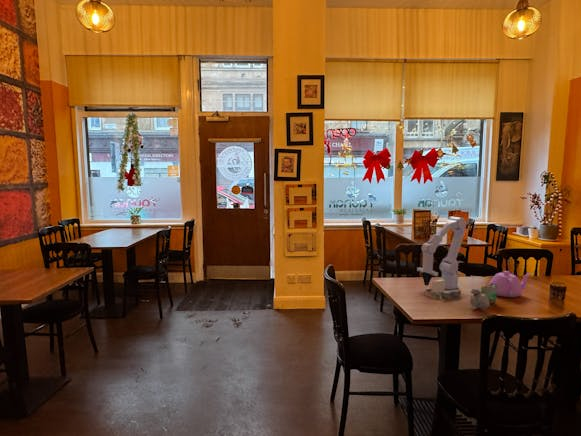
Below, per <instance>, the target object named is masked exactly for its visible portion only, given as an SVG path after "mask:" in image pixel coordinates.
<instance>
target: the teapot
mask: <svg viewBox="0 0 581 436" xmlns="http://www.w3.org/2000/svg"><path fill="white" fill-rule="evenodd" d="M531 275H532V273H526V274H524V275H523V278H522V281H521V282H520V280H519V278H518V276H516V275H515V274H512V273H511V272H510V271H508V270H503V272H502V271H501V272H498V273H495V275H494V276H493V277H492V278H491V280H490V281H489V284H488V285H491V283H493V284H496V285H498V288H499V291H497V296H499V297H503V298H504V297H505V298H516V297H519V296H520V295H521V294H522V293H523V290H525V288H526V287H527V284H528V278H529V276H531Z"/></svg>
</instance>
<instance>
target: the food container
mask: <svg viewBox="0 0 581 436" xmlns="http://www.w3.org/2000/svg"><path fill="white" fill-rule="evenodd" d="M480 291H481V292H482V294H485V295H486V296H487V297H488V299H489V304H490V306H494V305H495V306H496V302H497V296H498V295H497V291H499V288H498V285H496V284H493V283H491V285H489V284H488V285H485V286H481V288H480Z"/></svg>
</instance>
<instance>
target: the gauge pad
mask: <svg viewBox="0 0 581 436" xmlns="http://www.w3.org/2000/svg"><path fill="white" fill-rule="evenodd" d="M444 284H445V280H442V279H438V280H437V279H436V280H430V282H429V288H428V289H425V291H433V292H436V293H438V292H444V291H445V288H444Z"/></svg>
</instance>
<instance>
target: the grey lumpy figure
mask: <svg viewBox="0 0 581 436" xmlns="http://www.w3.org/2000/svg"><path fill="white" fill-rule="evenodd" d="M470 294H471V296H470V300H469V304H470V305H471V306H472V307H474V308H477V309H479V310H485V309H487V308H489V307H490V306H491V305H490V304H489V299H488V297H487V296H486V295H485V294H482V290H481V289H479V288H472V289H471V290H470Z"/></svg>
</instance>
